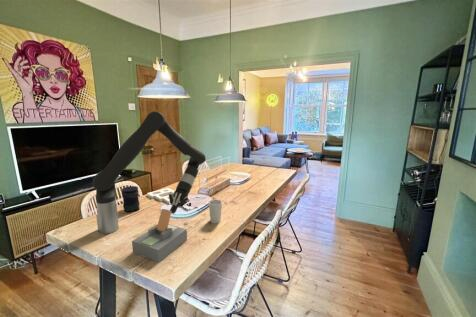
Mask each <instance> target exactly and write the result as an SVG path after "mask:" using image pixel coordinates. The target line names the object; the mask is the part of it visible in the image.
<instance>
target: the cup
mask: <svg viewBox="0 0 476 317" xmlns="http://www.w3.org/2000/svg"><path fill="white" fill-rule="evenodd" d="M222 204H223V201H222V200H221V199H211V200H209V201H208V210H209V211H208V212H209V219H210V220H209V221H210V222H211V223H212V224H219V223H220V222H221V221H222V219H221V218H222V207H223V206H222Z"/></svg>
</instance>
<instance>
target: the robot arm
mask: <svg viewBox="0 0 476 317" xmlns="http://www.w3.org/2000/svg"><path fill="white" fill-rule="evenodd" d="M157 131H158V132H159V133H160V134H162V135H163V136H164V137H165V138H166V139H167V140H168V141H170V143H171V144H172V145H173V146H174V147H175V148H176V149H177V150H178V151H179V152H180V153H181V154H183V155H184V156H188V157H190V158H189V160H188V162H187V166H186V168H185V170H184V173H183V174H182V176H180V177H181V178H179V181H178V183H177V185H176V187H175V190H174V191H175V192H174V193H173V194H169V199H170V203H171V204H170V205H171V207H170V209H169V210H171V211H172V212H171V214H172V215H173V214H175V213H176V212H177V210H178V208H183V207H182V206H183V205H185V204H186V203H187V202H189V201H190V200H189V199H190V198H189V194H190V192H191V189H192V188H193V186H194V183H195V180H196V178H197V176H198V174H199V167H200V165H202V164H204V163H205V162H206V155H205V153H204V152H203V151H201V150H200V149H198V148H197V147H195V146H193V145H192V144H191V143H190V142H189V141H188V140H187V139H186V138H184V137H183V136H182V135H181V134H180V133H179V132H178V131H176V130H175V129H174V128H173V127H172V126H171V125H170V123H168V122H167V120H166V118H165V116H164V114H162V113H161V112H160V111H156V110H153V111H151V112H149V113H148V114H147V115H146V117H145V118H144V120H143V121H142V123H141V124H140V126H139V127H138V128H137V129H136V130H135V131H134V132H133V133H132V134H131V135H130V136H129V137H128V138H127V139H126V140H125V141H124V142H123V143H122V145H121V146H120V147H119V148H118V150H117V151H116V152H115V154H114V155H113V157H112V159H111V160H110V161H109V163H108V164H107V166H106V167H104V169H103V170H101V171H98V172H97V173H96V175H95V176H94V177H93V178H92V179H93V180H92V186H93V189H95V191H96V192H95V193H96V194H95V195H96V196H95V202H96V209H97V211H96V212H97V214H96V224H97V231H98V232H99V233H100V234H105V235H107V234H111V233H114V232H116V231H118V229H119V228H120V227H119V217H118V207H117V197H116V193H117V192H116V180H117V178H118V177H119V176H120V175H121V173H122V172H123V171H124V170H125V169H126V168H127V167H128V166H129V165H131V163H132V162H133V161H134V160H135V159H136V158H137V157H138V156H139V154H140V153H141V152H142V150H143V149H144V148H145V146H146V144H147V143H148V140H150V138H151V137H152V136H153V135H154V134H155V133H156V132H157ZM188 198H189V199H188Z"/></svg>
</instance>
